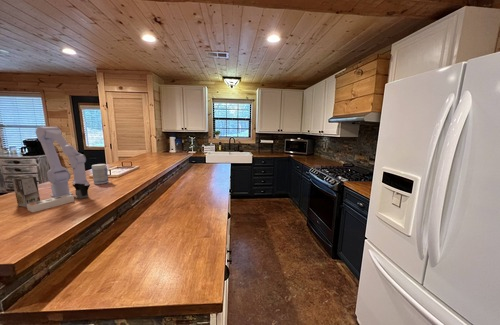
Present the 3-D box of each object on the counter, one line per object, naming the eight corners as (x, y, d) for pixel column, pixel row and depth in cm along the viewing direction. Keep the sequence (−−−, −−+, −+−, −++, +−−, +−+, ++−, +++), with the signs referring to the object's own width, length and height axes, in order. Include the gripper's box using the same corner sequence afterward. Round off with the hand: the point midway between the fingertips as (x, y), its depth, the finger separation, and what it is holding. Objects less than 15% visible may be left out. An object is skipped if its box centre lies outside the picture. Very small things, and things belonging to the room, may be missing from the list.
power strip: (32, 212, 106) (31, 205, 105) (27, 210, 109) (26, 203, 108) (74, 201, 122) (73, 195, 121) (69, 199, 125) (68, 193, 124)
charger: (76, 199, 124) (75, 192, 123) (72, 198, 126) (71, 191, 125) (88, 196, 129) (87, 189, 129) (84, 195, 131) (83, 188, 130)
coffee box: (41, 203, 118) (36, 176, 115) (26, 207, 112) (21, 179, 109) (32, 201, 121) (27, 175, 118) (17, 205, 115) (11, 177, 112)
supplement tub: (109, 183, 161) (107, 164, 158) (94, 185, 154) (92, 166, 152) (107, 180, 168) (105, 163, 165) (93, 182, 161) (90, 164, 159)
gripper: (65, 174, 126) (69, 195, 128) (78, 176, 119) (81, 198, 122) (79, 171, 132) (82, 191, 134) (91, 174, 126) (94, 195, 128)
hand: (82, 195), depth 128 cm, fingers closed on charger, 4 cm apart
